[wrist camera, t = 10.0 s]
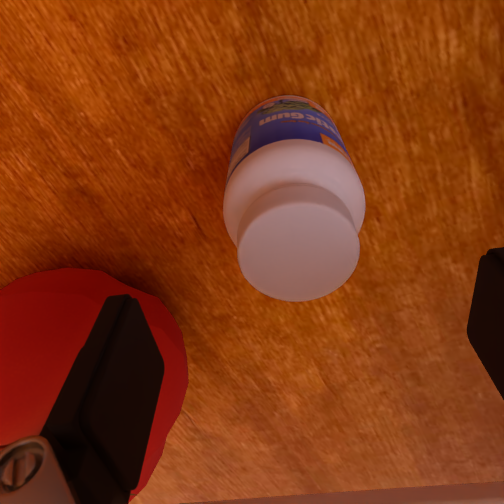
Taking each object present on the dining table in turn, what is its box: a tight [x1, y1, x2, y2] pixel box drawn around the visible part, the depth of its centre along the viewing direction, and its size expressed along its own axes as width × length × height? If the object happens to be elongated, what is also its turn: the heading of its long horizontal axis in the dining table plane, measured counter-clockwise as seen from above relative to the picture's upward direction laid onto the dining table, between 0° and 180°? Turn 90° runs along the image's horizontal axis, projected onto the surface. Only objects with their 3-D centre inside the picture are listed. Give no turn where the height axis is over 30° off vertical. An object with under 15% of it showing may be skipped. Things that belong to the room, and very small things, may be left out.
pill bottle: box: [223, 95, 365, 302], centre depth 17 cm, size 5×5×10 cm
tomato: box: [0, 267, 189, 503], centre depth 23 cm, size 13×14×12 cm
